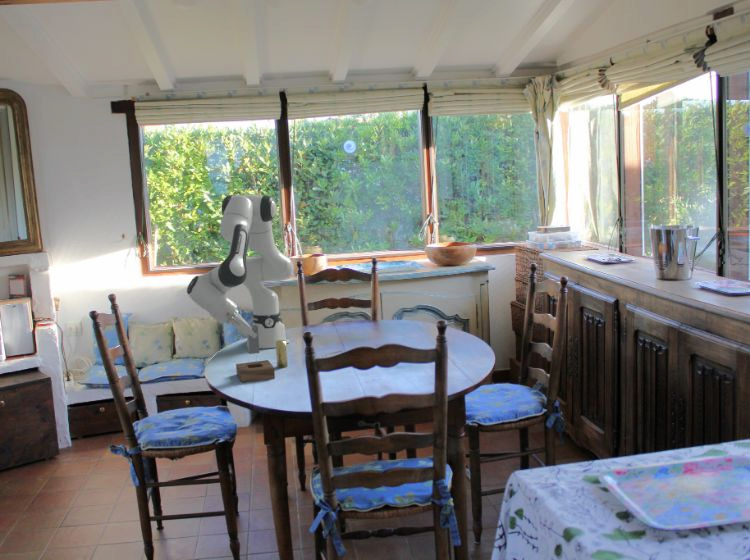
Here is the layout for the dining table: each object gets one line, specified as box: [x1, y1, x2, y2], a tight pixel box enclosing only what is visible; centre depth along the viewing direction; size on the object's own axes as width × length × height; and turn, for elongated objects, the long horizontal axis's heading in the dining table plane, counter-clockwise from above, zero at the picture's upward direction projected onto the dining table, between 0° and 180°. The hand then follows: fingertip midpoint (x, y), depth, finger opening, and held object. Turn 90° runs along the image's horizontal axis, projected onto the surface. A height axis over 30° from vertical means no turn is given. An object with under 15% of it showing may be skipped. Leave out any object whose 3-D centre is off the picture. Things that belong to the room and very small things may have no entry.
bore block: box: [235, 359, 276, 383], centre depth 266 cm, size 12×12×4 cm
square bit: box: [246, 324, 260, 355], centre depth 264 cm, size 4×4×10 cm
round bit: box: [275, 340, 289, 369], centre depth 278 cm, size 4×4×10 cm
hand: (254, 335), depth 264 cm, fingers closed on square bit, 4 cm apart
